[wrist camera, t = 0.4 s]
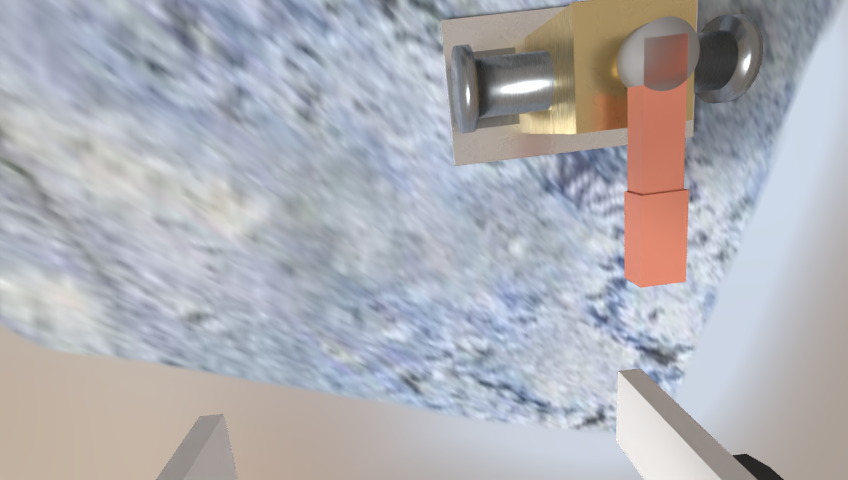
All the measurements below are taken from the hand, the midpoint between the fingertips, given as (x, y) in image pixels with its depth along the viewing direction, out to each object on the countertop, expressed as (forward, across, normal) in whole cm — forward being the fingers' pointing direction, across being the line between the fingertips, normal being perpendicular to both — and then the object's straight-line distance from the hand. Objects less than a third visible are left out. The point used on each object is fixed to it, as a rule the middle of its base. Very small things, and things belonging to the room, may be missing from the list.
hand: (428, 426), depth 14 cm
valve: (+28, +16, +13) cm, 34 cm away
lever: (+15, +16, +7) cm, 23 cm away
